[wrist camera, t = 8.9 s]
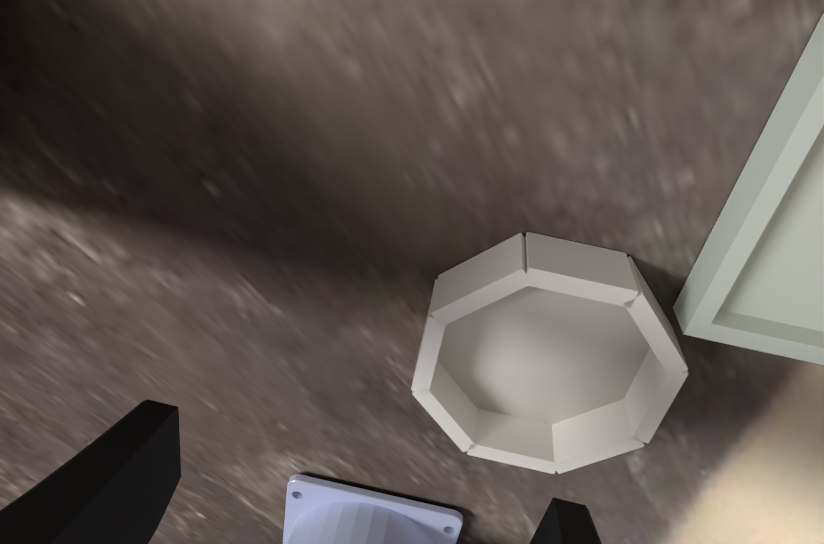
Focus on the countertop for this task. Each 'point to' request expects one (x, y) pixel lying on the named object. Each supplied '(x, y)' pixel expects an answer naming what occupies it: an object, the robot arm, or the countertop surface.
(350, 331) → the countertop surface
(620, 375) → the bowl
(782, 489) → the countertop surface
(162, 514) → the robot arm
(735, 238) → the tray
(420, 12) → the countertop surface
